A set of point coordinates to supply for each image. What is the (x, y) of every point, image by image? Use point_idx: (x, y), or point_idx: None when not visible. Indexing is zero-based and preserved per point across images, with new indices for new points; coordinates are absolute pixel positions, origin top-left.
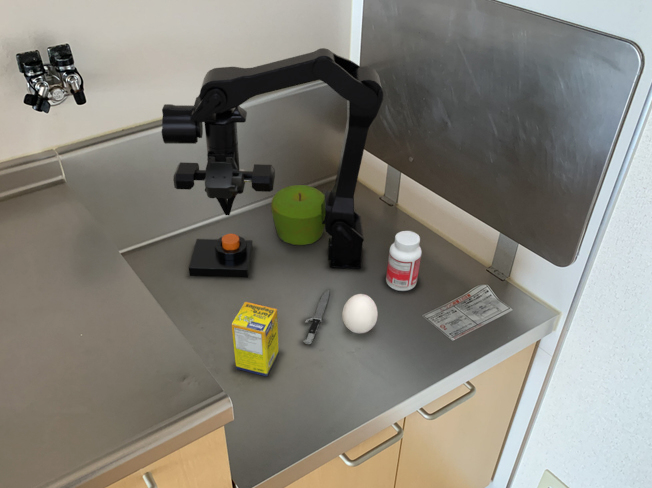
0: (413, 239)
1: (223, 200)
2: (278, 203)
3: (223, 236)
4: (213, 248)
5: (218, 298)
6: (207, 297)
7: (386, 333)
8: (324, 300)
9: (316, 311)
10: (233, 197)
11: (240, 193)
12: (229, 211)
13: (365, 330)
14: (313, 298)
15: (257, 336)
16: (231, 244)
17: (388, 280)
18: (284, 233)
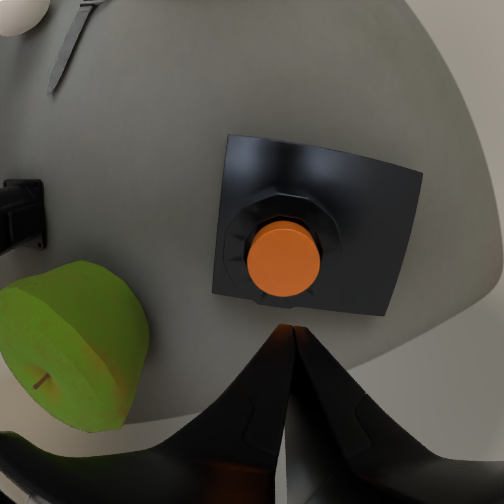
0: None
1: (330, 415)
2: (81, 376)
3: (311, 282)
4: (342, 265)
5: (325, 56)
6: (357, 66)
7: None
8: (61, 58)
9: (82, 23)
10: (201, 434)
11: (4, 433)
12: (276, 338)
13: None
14: (80, 68)
15: None
16: (280, 228)
17: None
18: (110, 293)
